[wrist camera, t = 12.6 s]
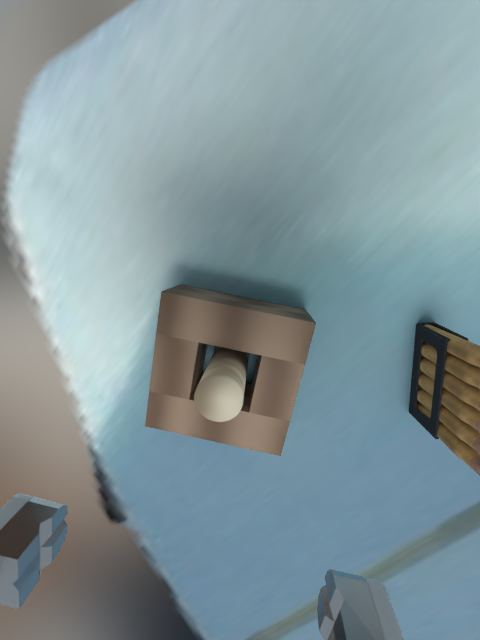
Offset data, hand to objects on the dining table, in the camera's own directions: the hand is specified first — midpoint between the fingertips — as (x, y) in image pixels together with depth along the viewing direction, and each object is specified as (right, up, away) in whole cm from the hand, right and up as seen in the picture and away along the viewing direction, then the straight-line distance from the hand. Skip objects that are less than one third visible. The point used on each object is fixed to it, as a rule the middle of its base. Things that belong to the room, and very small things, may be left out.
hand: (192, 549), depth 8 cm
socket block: (0, +3, +24) cm, 24 cm away
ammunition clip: (+22, +2, +23) cm, 31 cm away
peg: (+1, +3, +24) cm, 24 cm away
